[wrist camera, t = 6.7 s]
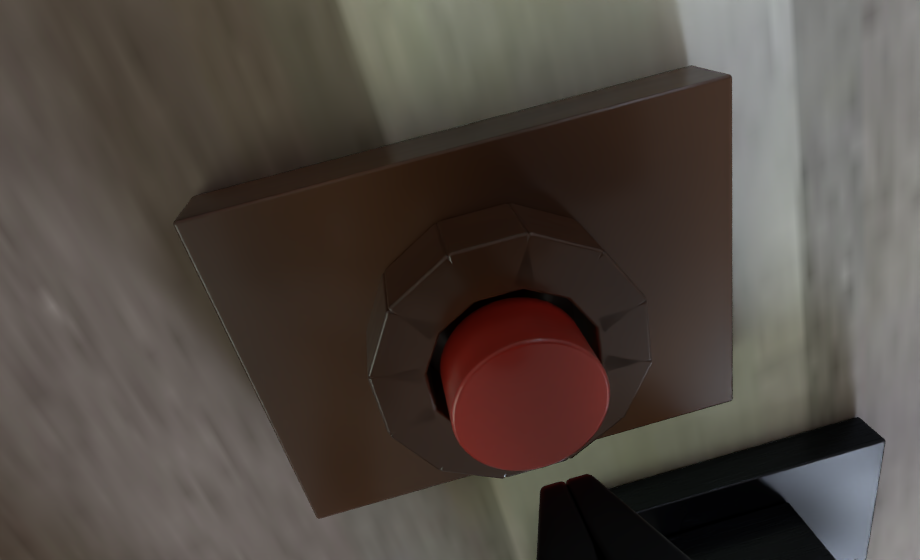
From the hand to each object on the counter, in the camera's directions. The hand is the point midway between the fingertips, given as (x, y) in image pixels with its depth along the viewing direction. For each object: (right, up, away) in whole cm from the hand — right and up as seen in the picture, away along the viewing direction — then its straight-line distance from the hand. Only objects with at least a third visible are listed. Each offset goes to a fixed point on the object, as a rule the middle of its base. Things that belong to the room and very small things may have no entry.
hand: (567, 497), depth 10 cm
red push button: (-1, +2, +3) cm, 4 cm away
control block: (-1, +3, +6) cm, 7 cm away
